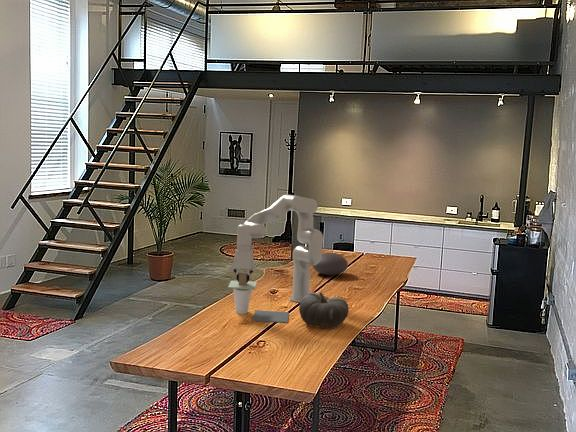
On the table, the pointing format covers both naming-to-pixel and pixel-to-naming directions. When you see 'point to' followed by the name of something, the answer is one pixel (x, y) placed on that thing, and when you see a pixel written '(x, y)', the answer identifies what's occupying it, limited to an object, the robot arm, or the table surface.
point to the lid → (242, 283)
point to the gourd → (323, 310)
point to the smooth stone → (331, 264)
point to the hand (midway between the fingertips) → (242, 281)
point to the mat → (271, 316)
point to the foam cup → (242, 300)
